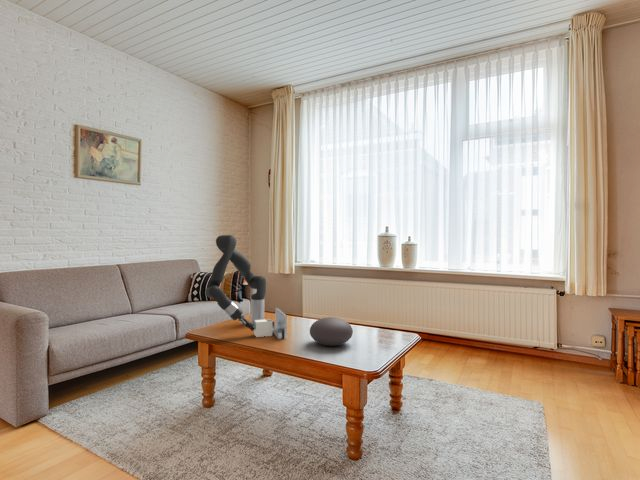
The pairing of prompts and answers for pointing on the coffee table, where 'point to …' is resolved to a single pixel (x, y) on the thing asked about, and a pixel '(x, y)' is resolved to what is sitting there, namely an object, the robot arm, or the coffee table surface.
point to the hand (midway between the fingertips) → (253, 329)
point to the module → (263, 327)
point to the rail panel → (280, 324)
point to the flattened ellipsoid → (331, 331)
